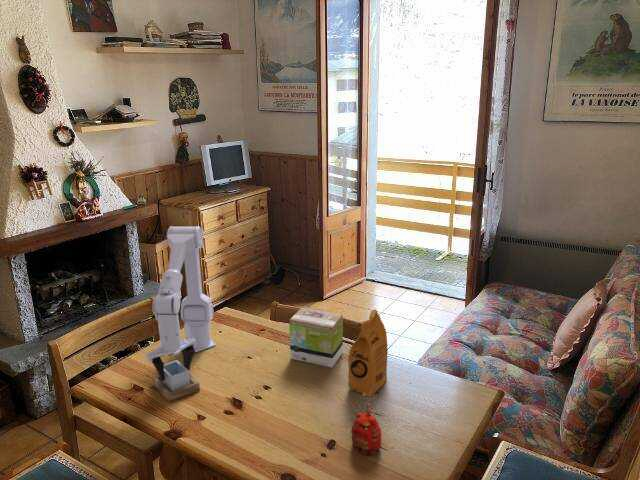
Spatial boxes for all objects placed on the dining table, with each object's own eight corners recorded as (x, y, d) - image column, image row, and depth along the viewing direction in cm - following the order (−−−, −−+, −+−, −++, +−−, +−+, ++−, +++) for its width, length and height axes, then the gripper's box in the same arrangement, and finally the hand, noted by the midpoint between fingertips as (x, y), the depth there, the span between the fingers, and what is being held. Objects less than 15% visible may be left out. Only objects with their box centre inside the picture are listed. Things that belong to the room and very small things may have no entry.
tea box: (289, 360, 169) (287, 319, 164) (302, 345, 178) (300, 306, 173) (333, 368, 164) (332, 326, 159) (343, 353, 172) (343, 312, 168)
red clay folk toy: (346, 449, 128) (346, 397, 124) (359, 433, 134) (359, 382, 129) (374, 460, 124) (375, 407, 120) (386, 443, 130) (387, 391, 126)
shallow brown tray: (153, 384, 157) (152, 377, 156) (182, 373, 163) (182, 366, 162) (169, 402, 148) (168, 395, 147) (200, 390, 154) (199, 383, 153)
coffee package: (342, 389, 153) (342, 321, 146) (362, 369, 163) (363, 305, 156) (372, 399, 148) (373, 329, 141) (391, 378, 158) (393, 312, 151)
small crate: (161, 383, 156) (159, 366, 154) (178, 377, 160) (176, 359, 158) (173, 395, 150) (171, 377, 149) (190, 388, 154) (188, 370, 152)
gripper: (150, 346, 143) (156, 389, 147) (199, 330, 151) (203, 371, 155) (141, 337, 148) (147, 378, 152) (188, 322, 156) (193, 362, 161)
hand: (174, 374), depth 154 cm, fingers open, 7 cm apart
